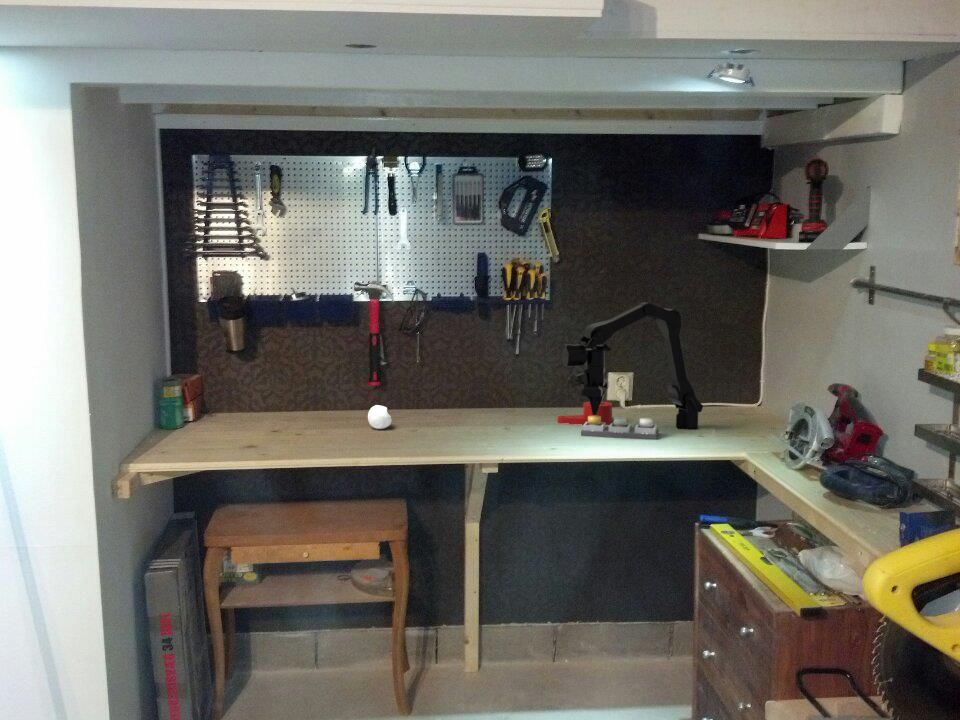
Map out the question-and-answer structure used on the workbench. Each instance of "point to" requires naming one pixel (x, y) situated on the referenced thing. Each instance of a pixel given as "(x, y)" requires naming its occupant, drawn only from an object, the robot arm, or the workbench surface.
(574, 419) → the lever
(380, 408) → the white rounded piece
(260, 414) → the workbench surface
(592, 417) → the button amber
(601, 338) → the robot arm
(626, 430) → the control board
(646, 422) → the button white
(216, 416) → the workbench surface
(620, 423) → the button sage
